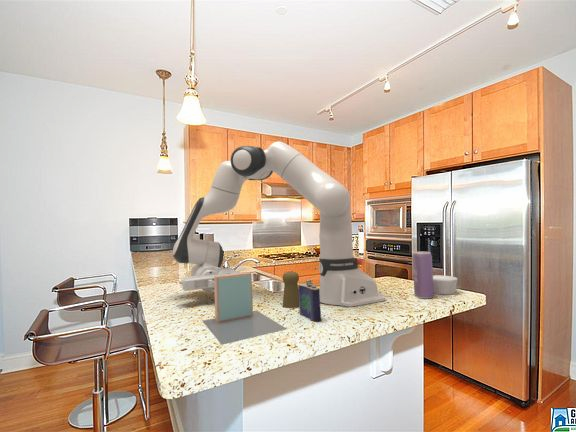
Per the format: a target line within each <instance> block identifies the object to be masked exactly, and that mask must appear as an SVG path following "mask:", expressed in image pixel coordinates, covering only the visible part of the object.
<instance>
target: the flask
mask: <svg viewBox="0 0 576 432" xmlns="http://www.w3.org/2000/svg"><path fill="white" fill-rule="evenodd" d="M312 281H314V279H312V278H311V279H306V280H305V283H299V284H298V289H299V307H298V309H299V310H298V311H299V315H300V316H302V317H305V318H306V319H307V318H308V319H309V320H310V321H312V322H313V323H320V322H322V313H321V302H320V293H319V292H320V290H319V288H320V287H318V286H316V285H314V282H312Z"/></svg>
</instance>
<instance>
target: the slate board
mask: <svg viewBox="0 0 576 432" xmlns="http://www.w3.org/2000/svg"><path fill="white" fill-rule="evenodd" d="M202 322H203V323H204V324H205V327H206V328H208V330H209V331H210V332H211V333H212V335H213V336H214V337H215V338H216V339H217V341H218V342H219V344H220V345H221V346H222V345H227V344H231V343H235V342H239V341H243V340H246V339H247V340H249V339H251V338H255V337H259V336H264V335H268V334H273V333H276V332H280V331H285V330H288V328H287V327H285V326H283V325H281V324H280V323H278V322H277V321H275V320H273V319H272V318H270V317H269V316H267V315H265V314H264V313H262V312H260V311H259V310H253V316H251V317H246V318H241V319H236V320H231V321H226V322H221V323H217V322H216V321H215V317H214V318H209V319H203V320H202Z"/></svg>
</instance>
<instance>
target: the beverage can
mask: <svg viewBox="0 0 576 432" xmlns="http://www.w3.org/2000/svg"><path fill="white" fill-rule="evenodd" d="M432 257H433V256H432V253H431V252H430V251H413V252H412V256H411V258H412V276H413V293H414V296H415V298H417V299H424V300H431V299H433V298H434V296H435V294H434V285H433V275H434V274H433V273H434V272H433V269H434V268H433V258H432Z"/></svg>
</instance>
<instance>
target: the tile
mask: <svg viewBox="0 0 576 432" xmlns="http://www.w3.org/2000/svg"><path fill="white" fill-rule="evenodd" d="M252 279H253V274H252V272H250V271H247V272H240V273H237V274H228V275H219V276H214V288H215V290H214V312H215V313H214V314H215V315H214V318H215V321H216V322H217V323H221V322H226V321H231V320H236V319H241V318H246V317H251V316H253V311H254V308H253V305H254V304H253V280H252Z"/></svg>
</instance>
